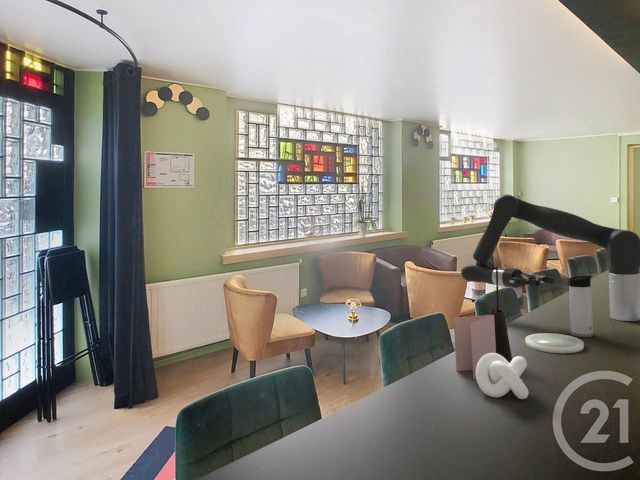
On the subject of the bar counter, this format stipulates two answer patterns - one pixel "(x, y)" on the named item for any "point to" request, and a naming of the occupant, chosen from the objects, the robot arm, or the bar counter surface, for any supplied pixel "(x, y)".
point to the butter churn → (501, 329)
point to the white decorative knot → (501, 375)
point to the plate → (554, 343)
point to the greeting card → (473, 340)
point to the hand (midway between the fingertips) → (547, 282)
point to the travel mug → (580, 306)
